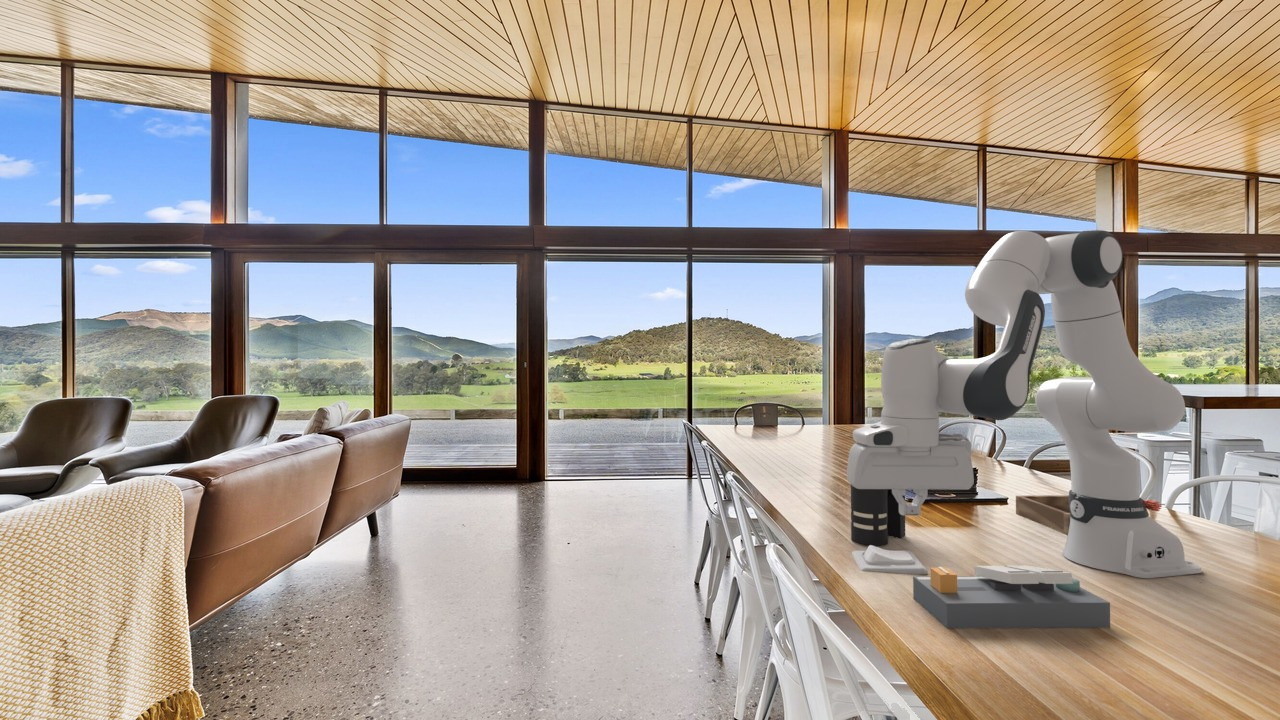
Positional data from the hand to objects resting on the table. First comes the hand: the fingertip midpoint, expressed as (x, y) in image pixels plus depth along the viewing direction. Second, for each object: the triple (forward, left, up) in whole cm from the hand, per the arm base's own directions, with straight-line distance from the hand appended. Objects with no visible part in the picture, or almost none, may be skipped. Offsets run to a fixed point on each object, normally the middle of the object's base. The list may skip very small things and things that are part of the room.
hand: (909, 514), depth 93 cm
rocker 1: (-16, 0, -11) cm, 20 cm away
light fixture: (-10, -39, -17) cm, 44 cm away
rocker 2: (-22, 0, -11) cm, 24 cm away
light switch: (-6, -23, -18) cm, 30 cm away
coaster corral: (-67, -50, -17) cm, 86 cm away
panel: (-16, 0, -17) cm, 23 cm away
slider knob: (-6, 0, -13) cm, 14 cm away
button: (-27, 0, -13) cm, 30 cm away
